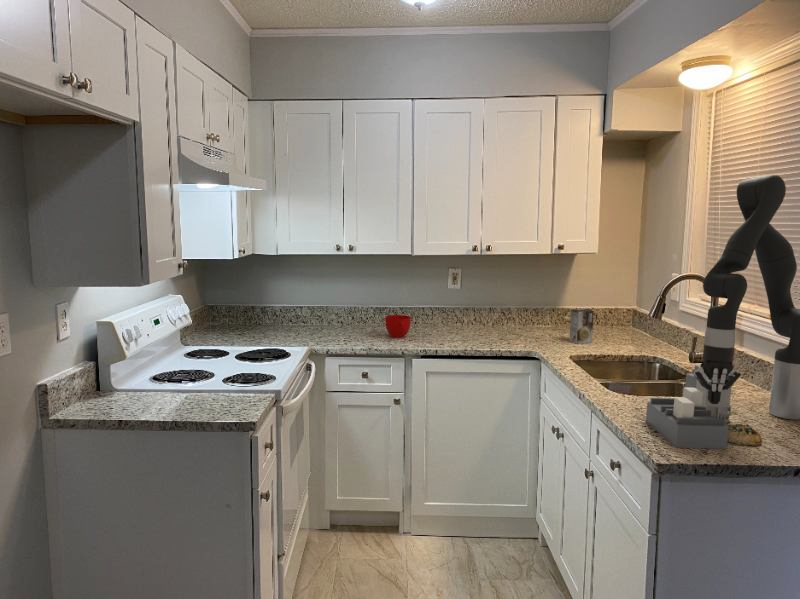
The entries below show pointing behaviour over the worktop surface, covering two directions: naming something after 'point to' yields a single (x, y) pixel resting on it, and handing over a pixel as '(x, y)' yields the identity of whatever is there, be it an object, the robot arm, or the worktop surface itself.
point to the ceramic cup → (397, 325)
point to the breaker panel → (687, 426)
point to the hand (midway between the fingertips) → (713, 403)
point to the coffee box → (581, 326)
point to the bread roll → (743, 435)
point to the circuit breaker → (717, 409)
